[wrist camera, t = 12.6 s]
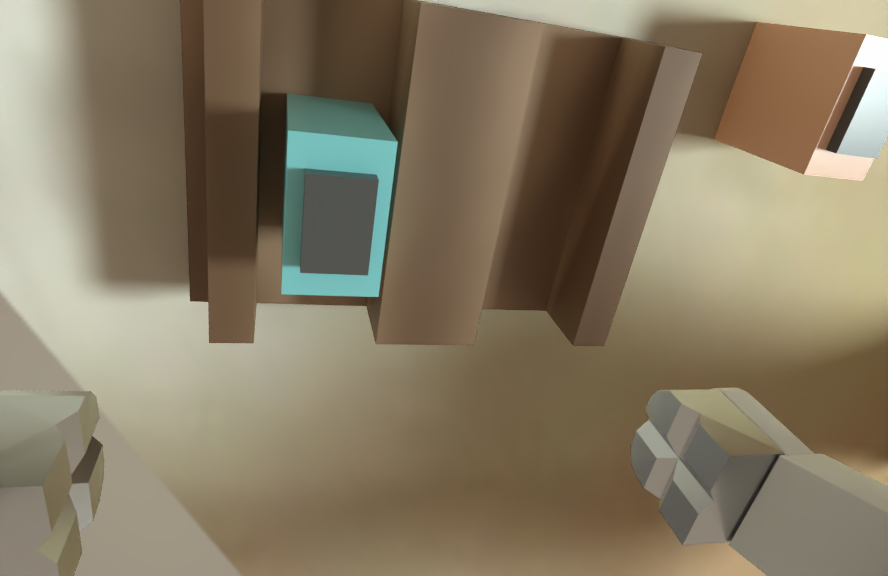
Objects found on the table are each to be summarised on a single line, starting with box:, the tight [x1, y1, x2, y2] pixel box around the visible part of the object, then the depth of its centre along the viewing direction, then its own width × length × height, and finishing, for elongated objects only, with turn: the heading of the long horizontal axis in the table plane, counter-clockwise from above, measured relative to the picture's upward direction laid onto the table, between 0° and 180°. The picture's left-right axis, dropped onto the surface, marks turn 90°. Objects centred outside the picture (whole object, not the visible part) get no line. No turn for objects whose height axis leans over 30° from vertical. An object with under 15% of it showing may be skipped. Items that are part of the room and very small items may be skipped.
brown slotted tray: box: [180, 0, 702, 346], centre depth 22 cm, size 18×12×4 cm, turn 80°
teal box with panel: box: [281, 93, 398, 297], centre depth 19 cm, size 3×5×6 cm, turn 170°
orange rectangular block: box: [714, 22, 888, 181], centre depth 24 cm, size 3×5×6 cm, turn 170°
